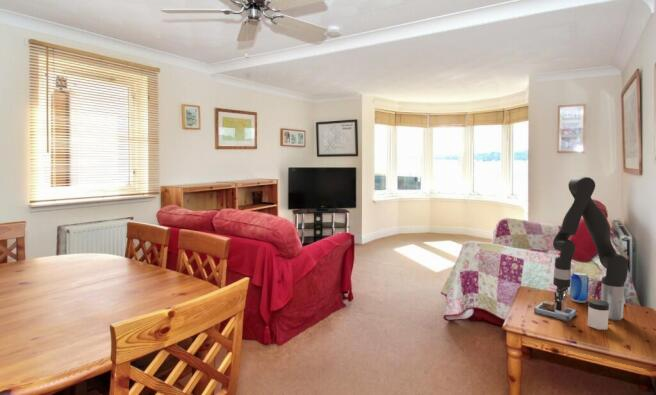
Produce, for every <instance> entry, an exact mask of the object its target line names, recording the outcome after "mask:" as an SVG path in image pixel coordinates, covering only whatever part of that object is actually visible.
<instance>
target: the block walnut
mask: <svg viewBox="0 0 656 395" xmlns="http://www.w3.org/2000/svg"><path fill="white" fill-rule="evenodd" d="M542 302H543V310H547V311H551V312H554V311H555V309H554V301H549V300H544V301H542Z"/></svg>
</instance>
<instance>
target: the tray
mask: <svg viewBox="0 0 656 395" xmlns="http://www.w3.org/2000/svg"><path fill="white" fill-rule="evenodd" d="M543 302H544V301H541V302H540V303H539V304H538V305H536V306H535V307H534V308H533V313H534V314H538V315H542V316H545V317H549V318H553V319H556V320H559V321H564V322H568V323H569V322H570V321H572V319H573V318H574V317H575V316H576V315H577V309H575V308H570V307H566V310H565V311H564V312H562V311H559V310H555V311H554V312H551V311H547V310H543Z"/></svg>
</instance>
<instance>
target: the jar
mask: <svg viewBox="0 0 656 395" xmlns="http://www.w3.org/2000/svg"><path fill="white" fill-rule="evenodd" d="M608 315H609V303H607V302H605V301H602V300H600V299H596V298H595V299H592V298H591V299H589V300H588V307H587V323H586V324H587V326H588V327H591V328H592V329H596V330H606V331H607V330H608V327H609V319H608Z"/></svg>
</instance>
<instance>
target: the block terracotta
mask: <svg viewBox="0 0 656 395" xmlns="http://www.w3.org/2000/svg"><path fill="white" fill-rule="evenodd" d="M558 301H559V299H558ZM553 302H554V309H555V310H557V309H556V304H557V303H556V302H555V300H554V301H553ZM567 303H568V300H565V301H564V300H562V308H561V311H562V312H564V311H565V310H566V308H567Z"/></svg>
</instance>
